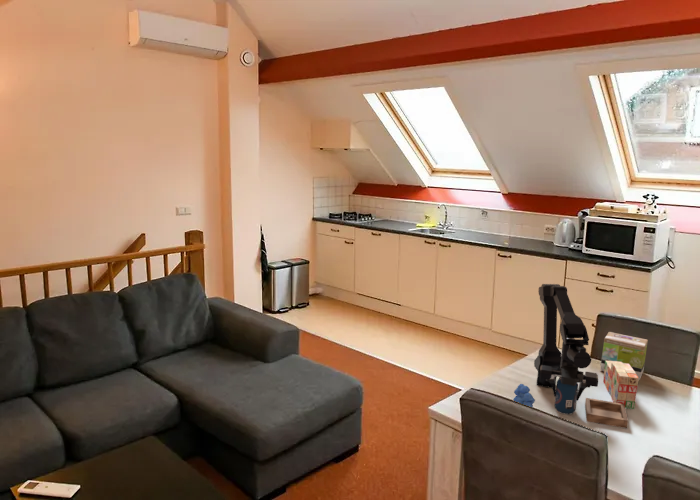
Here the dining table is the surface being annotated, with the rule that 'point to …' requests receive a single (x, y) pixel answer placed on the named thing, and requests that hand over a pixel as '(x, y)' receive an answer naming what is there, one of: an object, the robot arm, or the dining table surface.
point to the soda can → (566, 397)
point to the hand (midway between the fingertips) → (566, 398)
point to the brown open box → (606, 413)
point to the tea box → (625, 351)
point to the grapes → (524, 395)
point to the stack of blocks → (621, 383)
